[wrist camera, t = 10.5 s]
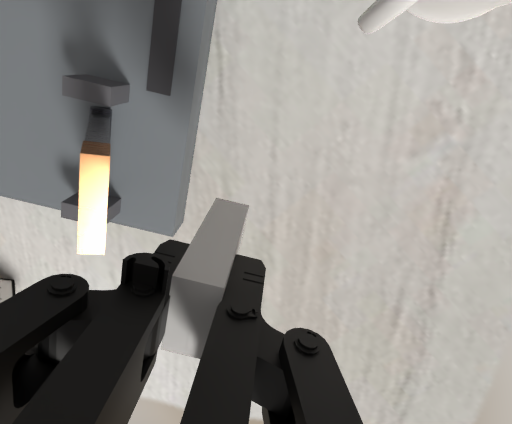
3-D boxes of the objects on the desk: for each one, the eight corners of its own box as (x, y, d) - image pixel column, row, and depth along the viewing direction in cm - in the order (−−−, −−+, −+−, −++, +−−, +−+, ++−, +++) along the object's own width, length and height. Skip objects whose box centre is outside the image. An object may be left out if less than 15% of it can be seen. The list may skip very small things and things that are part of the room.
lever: (90, 104, 21) (78, 148, 14) (112, 108, 22) (112, 151, 15) (87, 184, 23) (75, 257, 16) (107, 185, 24) (105, 257, 17)
